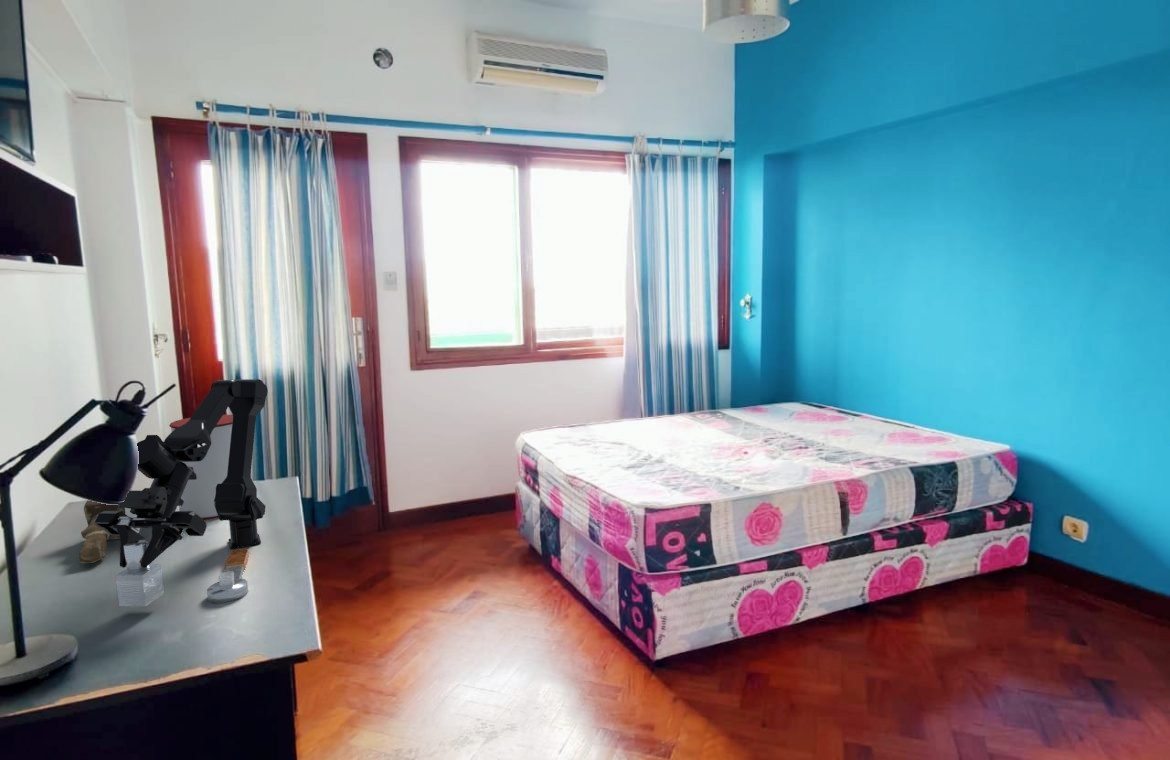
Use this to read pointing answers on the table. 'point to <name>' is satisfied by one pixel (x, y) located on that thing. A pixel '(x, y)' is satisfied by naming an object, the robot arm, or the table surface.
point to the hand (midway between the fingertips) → (132, 566)
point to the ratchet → (231, 579)
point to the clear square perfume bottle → (138, 577)
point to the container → (207, 470)
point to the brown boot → (95, 533)
